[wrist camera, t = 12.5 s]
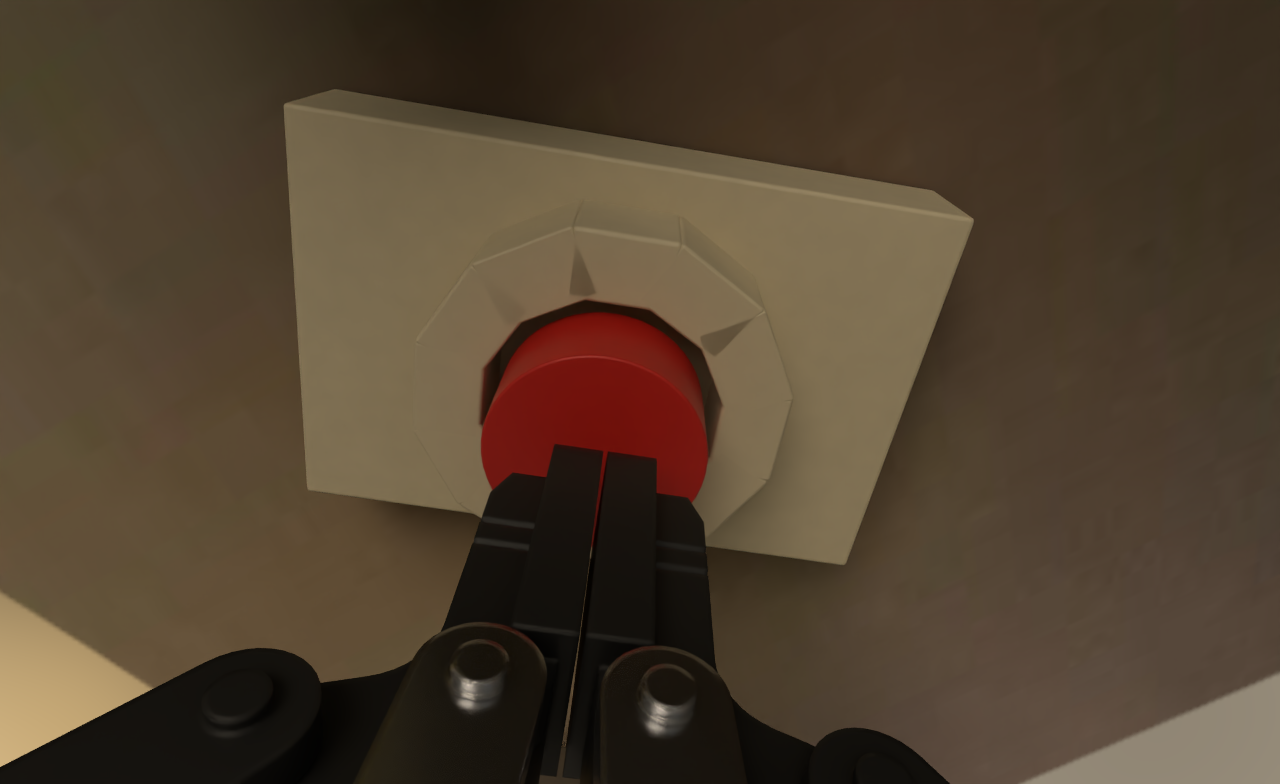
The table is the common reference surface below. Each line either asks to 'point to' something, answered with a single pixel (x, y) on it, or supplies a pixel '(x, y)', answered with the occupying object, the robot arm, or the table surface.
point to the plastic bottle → (559, 773)
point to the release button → (598, 402)
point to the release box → (603, 303)
